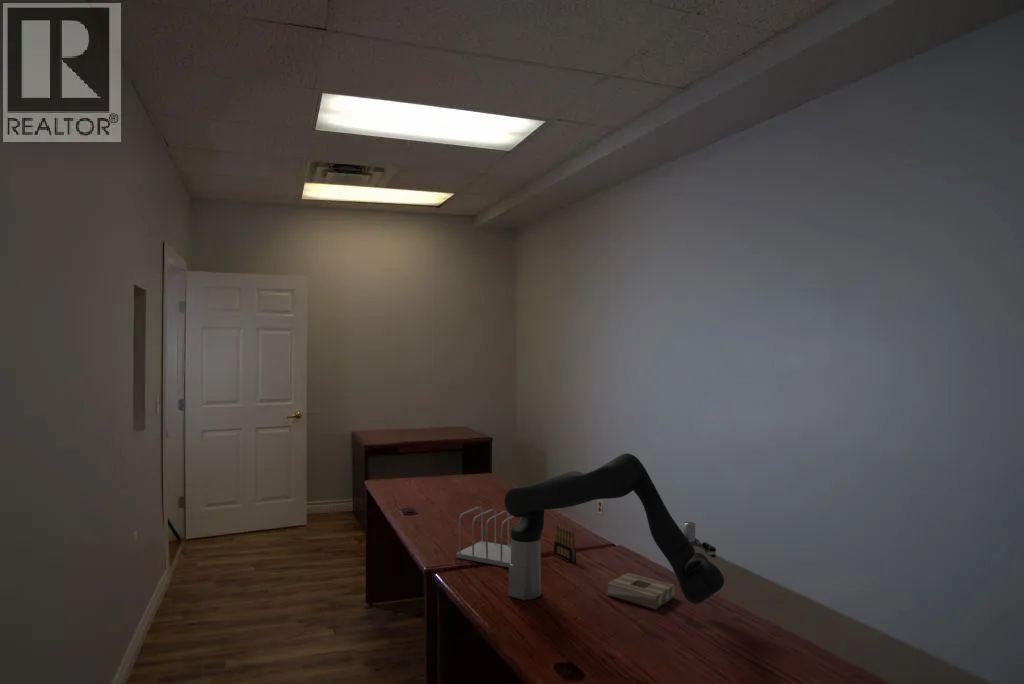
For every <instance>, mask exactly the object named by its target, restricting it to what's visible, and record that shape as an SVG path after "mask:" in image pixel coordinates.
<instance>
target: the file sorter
mask: <svg viewBox="0 0 1024 684" xmlns="http://www.w3.org/2000/svg"><path fill="white" fill-rule="evenodd" d="M478 509H480V513H479V514H477V515H475V516H474V517H473V519H472V522H471V545H470V546H468V547H466V548H464V549H462V550H461V519H462V517H463V516H464V515H466V514H469V513H471V512H474V511H476V510H478ZM483 511H484V510H483V508H482V507H481V506H477V507H473V508H471V509H469V510H466V511H464V512H462V513H460V515H459V517H458V552H456V554H455V557H456V558H458V559H462V560H468V561H473V562H474V561H475V562H478V563H483V564H484V563H485V564H489V565H495V566H500V567H505V568H509V564H511V542H510V520H511V519H513V518H516V517H515V516H512V515H511V516H510V513H509V512H508V511H507V510H504V511H503V510H502V511H501V512H499V513H497V511H496V509H494V508H491V509H488V510H486V511H484V512H483ZM492 511H493V515H492V516H491V517H488V519H487V520H486V522H485V541H484V515H486V514H488V513H490V512H492ZM505 513H506V516H507V518H506V519H504V520H503V521H502V523H501V525H500V543H497V517H499V516H501V515H503V514H505ZM479 517H481V518H480V519H481V520H480V523H481V526H480V528H481V529H480V530H481V531H480V534H481V536H480V537H481V538H480V541H478V542H476V543H475V533H474V532H475V531H474V530H475V527H474V526H475V521H476V519H477V518H479ZM493 519H494V521H493V522H494V542H489V540H488V539H489V537H488V536H489V534H488V531H489V530H488V526H489V523H490V521H491V520H493ZM521 519H522V517H520V520H521ZM506 522H507V544H503V533H504V532H503V530H504V529H503V527H504V524H505V523H506ZM519 522H520V521H519ZM519 522H517V523H516V524H518V523H519Z"/></svg>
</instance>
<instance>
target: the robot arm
mask: <svg viewBox="0 0 1024 684" xmlns="http://www.w3.org/2000/svg"><path fill="white" fill-rule="evenodd" d="M632 492H634V493H635V494H636V496H637V497H638V499H639V500H640V502H641V504H642V506H643V508H644V512H645V515H646V519H647V523H648V527H649V530H650V531H649V532H650V534H651V536H652V539H653V541H654V542H655V544H656V546H657V548H658V549H659V550H660V552H661V553H662V554H663V555H664V557H665V558H666V559H667V561H668V563H669V565H670V566H671V568H672V569H673V572H674V574H675V577H676V578H677V581H678V584H679V588H680V589H681V592H682V594H683V597H684V598H685V599H686V600H687V601H688V602H690V603H692V604H694V605H699V604H701V603H703V602H704V601H706V600H707V599H709V598H710V597H712V596H713V595H715V594H716V593H717V592H719V591H720V590H721V589H722V588H723V586H724V584H725V577H724V575H723V573H722V571H721V570H720V569H719V568H718V567H717V566H716V565H715V564H714V563H713V562H711V560H710V558H709V557H711V558H716V557H717V548H716V547H715V546H713V545H711V544H709V543H708V542H704V541H703V542H702V543H701V541H700V540H699V539H697V537H695V542H689V540H688V539H687V538H686V536H685V535H684V531H682V529H681V528H680V527H679V526H678V524H677V523H676V522H675V521H676V520H675V519H674V518H673V517H672V515H671V514H670V512H669V510H668V508H667V506H666V505H665V503H664V501H663V499H662V498H661V495H660V493H659V491H658V490H657V488H656V486H655V484H654V482H653V480H652V478H651V477H650V475H649V473H648V471H647V469H646V467H645V466H644V465H643V463H642V462H641V460H640V459H639V458H638V457H636V456H635V455H634V454H631V453H622V454H620V455H618V456H617V457H615V458H613V459H611V460H610V461H608V462H607V463H605V464H603V465H602V466H600V467H598V468H596V469H595V470H592V471H588V472H586V473H582V472H579V471H567V472H565V473H561V474H558V475H555V476H552V477H549V478H546V479H544V480H542V481H540V482H537V483H531V484H523V485H517V486H514V487H511V488H510V489H509V490H508V491H507V493H506V494H505V496H504V501H503V503H504V508H505V509H506V510H505V511H508V513H509V515H511V516H515V517H514V518H520V520H519V523H518V522H517V523H518V524H517V523H516V524H515V525H514V526H512V527H511V531H510V546H511V564H509V567H508V596H510V597H512V598H515V599H518V600H521V601H526V599H527V600H534V599H537V598H539V597H540V596H541V592H542V589H541V588H542V587H541V584H542V580H541V579H542V574H541V572H542V571H541V570H542V566H541V565H542V533H543V529H544V525H545V524H544V523H545V522H544V521H545V510H554V509H555V510H556V509H565V508H569V507H570V508H571V507H575V506H578V505H582V504H586V503H589V502H591V501H594V500H604V499H605V500H608V499H619V498H623V497H625V496H627V495H629V493H632ZM521 517H522V519H521Z"/></svg>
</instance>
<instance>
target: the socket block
mask: <svg viewBox="0 0 1024 684" xmlns="http://www.w3.org/2000/svg"><path fill="white" fill-rule="evenodd" d="M607 597H608V598H612V599H615V600H618V601H622V602H626V603H628V602H629V603H630V604H632V603H633V604H632V605H635V604H636V605H635V606H639V607H642V606H643V608H645V607H646V609H649V608H650V610H652V609H653V611H657V610H659V609H660V608H662V607H664V604H665V605H666V604H668V603H670V602H671V601H672V600H674V599H675V584H672V583H668V582H664V581H662V580H661V581H660V580H658V579H654V578H649V577H646V576H643V575H639V574H638V575H637V574H634V573H631V572H627V573H624V574H622V575H621V576H619V577H617V578H615V579H613V580H611V581H609V582H607ZM673 598H674V599H673ZM670 600H671V601H670ZM667 602H668V603H667ZM629 603H628V604H629ZM661 606H662V607H661ZM658 608H659V609H658Z"/></svg>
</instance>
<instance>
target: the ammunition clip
mask: <svg viewBox="0 0 1024 684" xmlns="http://www.w3.org/2000/svg"><path fill="white" fill-rule="evenodd" d="M575 539H576V538H575V531H574V527H572V528H571V527H570V526H569V527H568V525H566V526H565V525H564V524H562V523H561V522H560V523H559V522H558V521H556V524H555V535H554V542H553V555H554V556H555V555H558V556H560V557H562V558H564V559H566V560H568V561H569V562H568V561H567V562H568V563H570V562H572V563H571V564H574V563H573V562H576V563H577V552H576V551H577V548H576V542H575V541H576V540H575ZM564 559H563V560H564ZM566 560H565V561H566Z"/></svg>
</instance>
